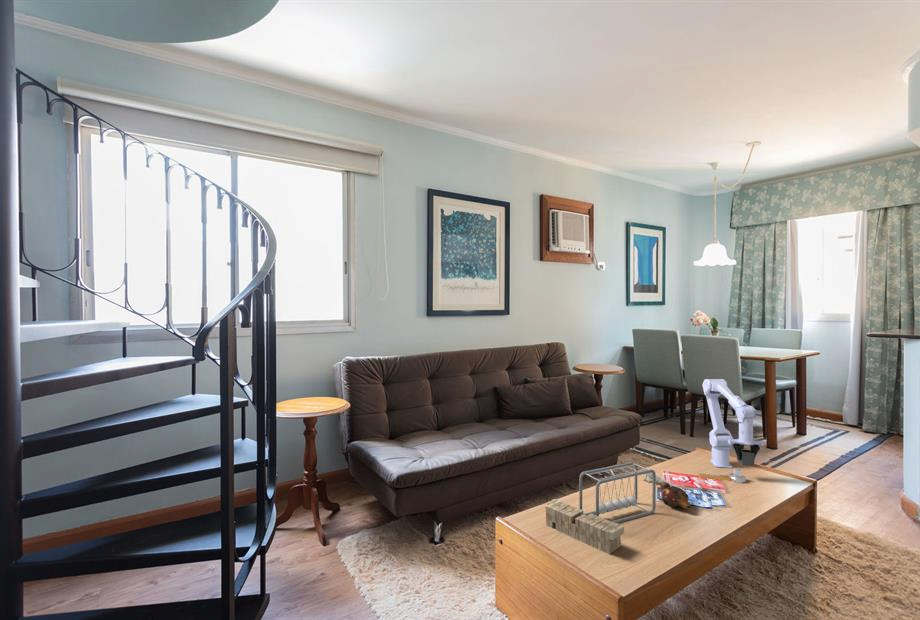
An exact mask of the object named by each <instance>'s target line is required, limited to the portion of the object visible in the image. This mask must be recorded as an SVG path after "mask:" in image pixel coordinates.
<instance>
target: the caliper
mask: <svg viewBox="0 0 920 620" xmlns="http://www.w3.org/2000/svg"><path fill="white" fill-rule="evenodd" d="M647 477H648V479H647ZM652 480H653V474H652V472H651V473H646V474H643V481H644V482H646V481H647V483H650V482H651V481H652ZM659 482H660V484H661V483H662V482H667V483H669V485H670V486H675V487H678V488H680V489H682V490H683V491H685V492H688V490H687V489H683V488H682V487H680V486H678V485H676V484H674V483H671V482H670V481H667V480H666V479H664V478H661V476H659V475H657V474H656V483H659Z"/></svg>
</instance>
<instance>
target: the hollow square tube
mask: <svg viewBox="0 0 920 620" xmlns="http://www.w3.org/2000/svg"><path fill="white" fill-rule="evenodd" d="M737 462H738V463H739V464H740V465H741V466H746V467H747V466H748V467H749V466H750V467H751V466H752V467H755V460H754V453H753V452H752V451H751V450H750V449H746V448H745V449H743V448H742V449H741V460H738V459H737Z"/></svg>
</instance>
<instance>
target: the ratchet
mask: <svg viewBox="0 0 920 620" xmlns="http://www.w3.org/2000/svg"><path fill="white" fill-rule="evenodd" d="M732 469H733V472H732V473H728V475H727V474H726V475H723V474H711V473H710V474H709V473H698V474H697V476H699V477H700V478H708V479H707V480H709V479H719V480H718V481H723V480H725V481H724V482H726V480H727V482H733V481H734V482H733V483H736V482H737V484H745V482H746V483H747V477H746V476H745V475H743V474H742V472H743V471H742V469H740V468H736V467H733V468H732ZM699 477H698V478H699ZM700 478H699V479H700Z"/></svg>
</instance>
